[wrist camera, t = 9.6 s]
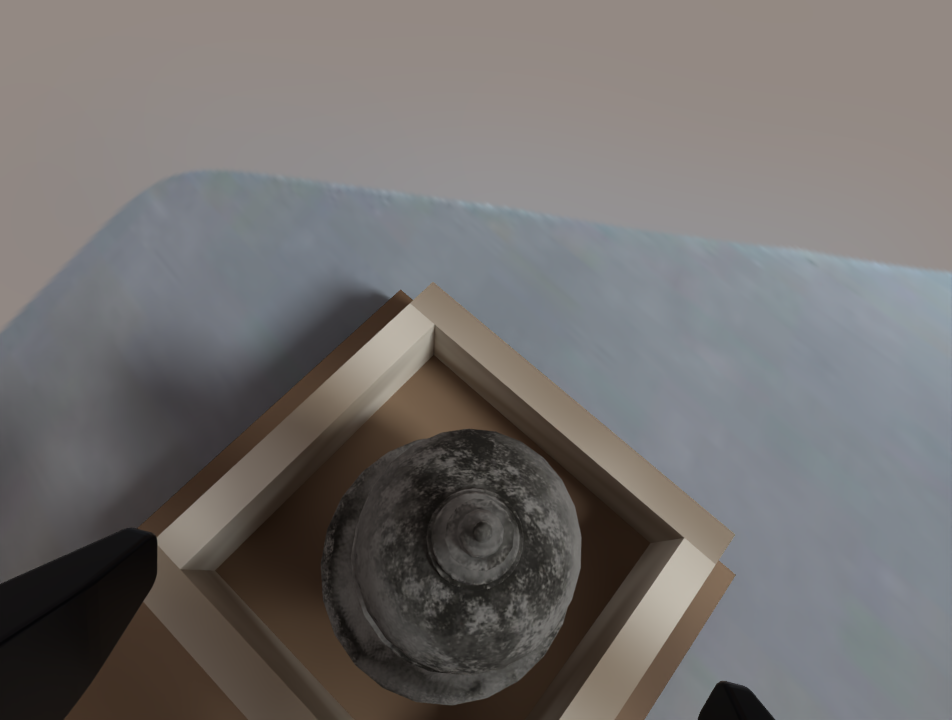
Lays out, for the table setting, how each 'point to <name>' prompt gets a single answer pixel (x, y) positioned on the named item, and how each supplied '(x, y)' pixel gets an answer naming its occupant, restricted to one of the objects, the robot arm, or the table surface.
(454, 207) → the table surface
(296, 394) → the board
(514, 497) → the salt shaker
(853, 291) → the table surface
